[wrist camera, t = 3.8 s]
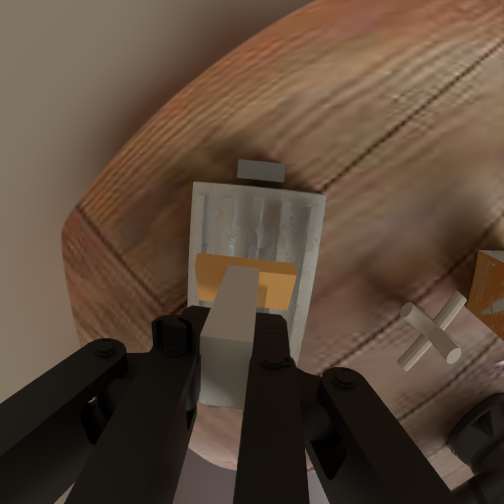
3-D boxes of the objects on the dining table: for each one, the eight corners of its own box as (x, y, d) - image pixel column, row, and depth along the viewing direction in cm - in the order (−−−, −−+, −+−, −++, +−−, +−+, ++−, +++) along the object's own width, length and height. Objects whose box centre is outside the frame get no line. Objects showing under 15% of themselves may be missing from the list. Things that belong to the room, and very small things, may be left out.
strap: (262, 389, 30) (261, 401, 29) (215, 384, 30) (213, 395, 29) (296, 259, 15) (296, 280, 14) (199, 248, 15) (192, 268, 14)
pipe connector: (361, 324, 33) (389, 376, 23) (415, 256, 30) (463, 288, 20) (411, 358, 34) (441, 406, 24) (459, 299, 31) (503, 336, 22)
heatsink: (291, 370, 35) (295, 415, 27) (193, 358, 35) (177, 401, 27) (323, 170, 28) (342, 170, 21) (202, 158, 29) (179, 153, 21)
